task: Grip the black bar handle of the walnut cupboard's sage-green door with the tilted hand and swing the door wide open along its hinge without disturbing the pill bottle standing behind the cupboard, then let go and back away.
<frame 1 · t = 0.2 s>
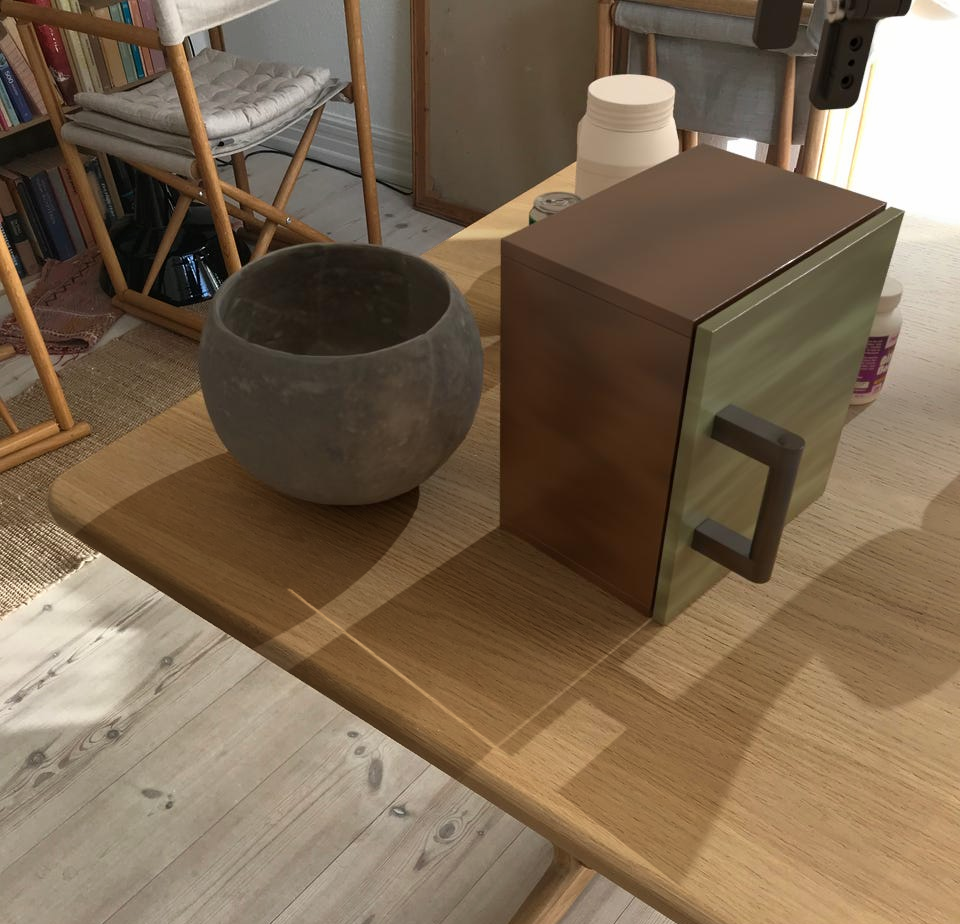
hand: (800, 75, 52), 32 cm above the table, tool pointing down, fingers open, 8 cm apart
soda can: (553, 332, 97), on the table
jar: (617, 244, 109), on the table
pill bottle: (847, 391, 89), on the table
door: (808, 441, 65), point 11 cm above the table, hinge at 0.0°
bowl: (354, 473, 82), on the table
cupboard: (657, 506, 79), on the table
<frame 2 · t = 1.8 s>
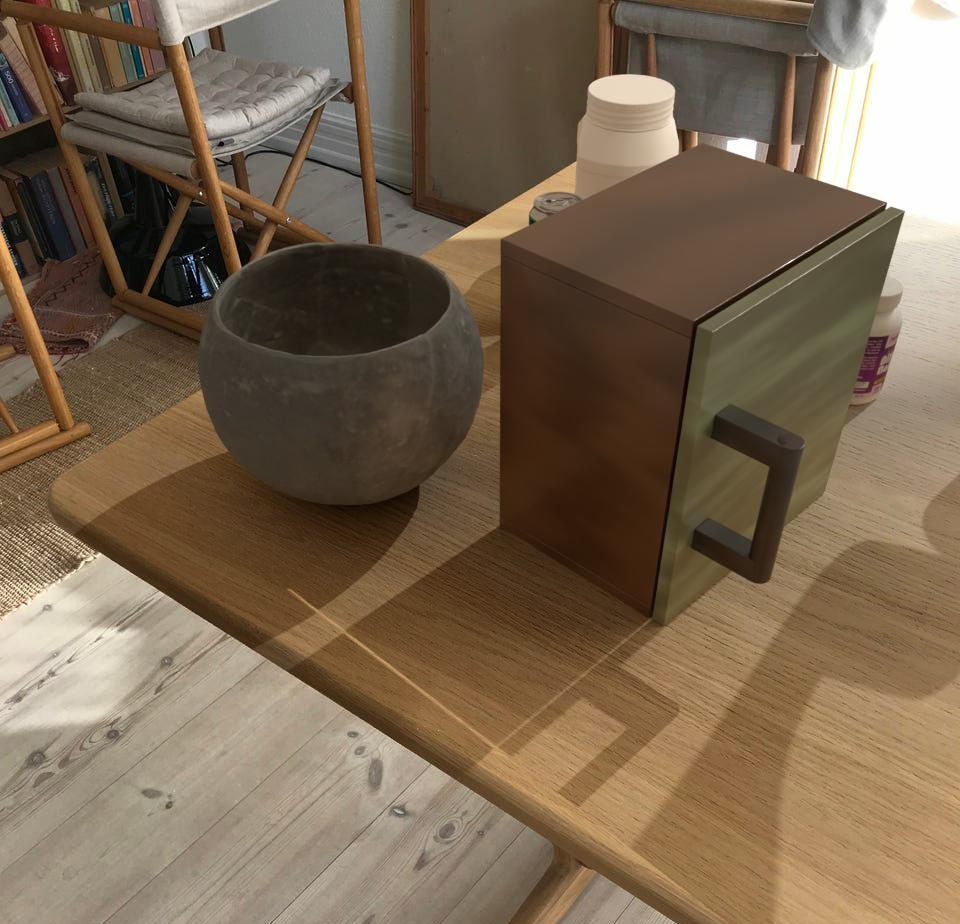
nothing on the table moved.
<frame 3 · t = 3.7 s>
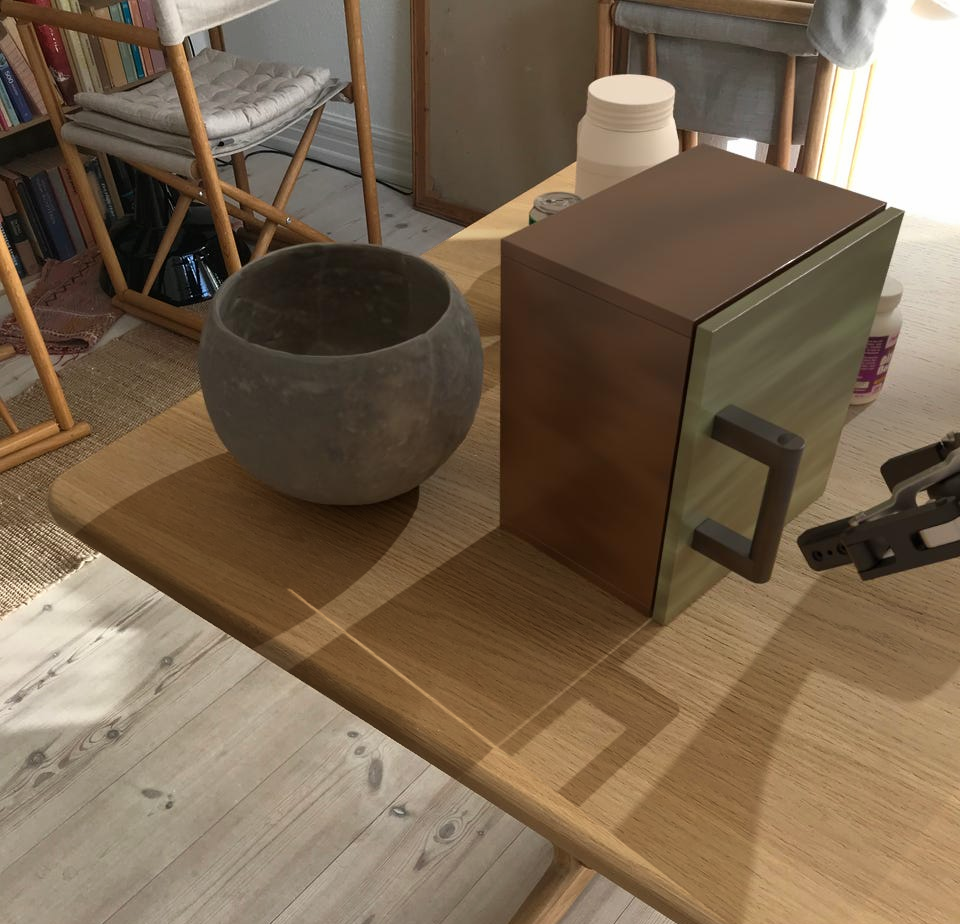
hand: (849, 515, 57), 13 cm above the table, tool tilted 45°, fingers open, 8 cm apart
nothing on the table moved.
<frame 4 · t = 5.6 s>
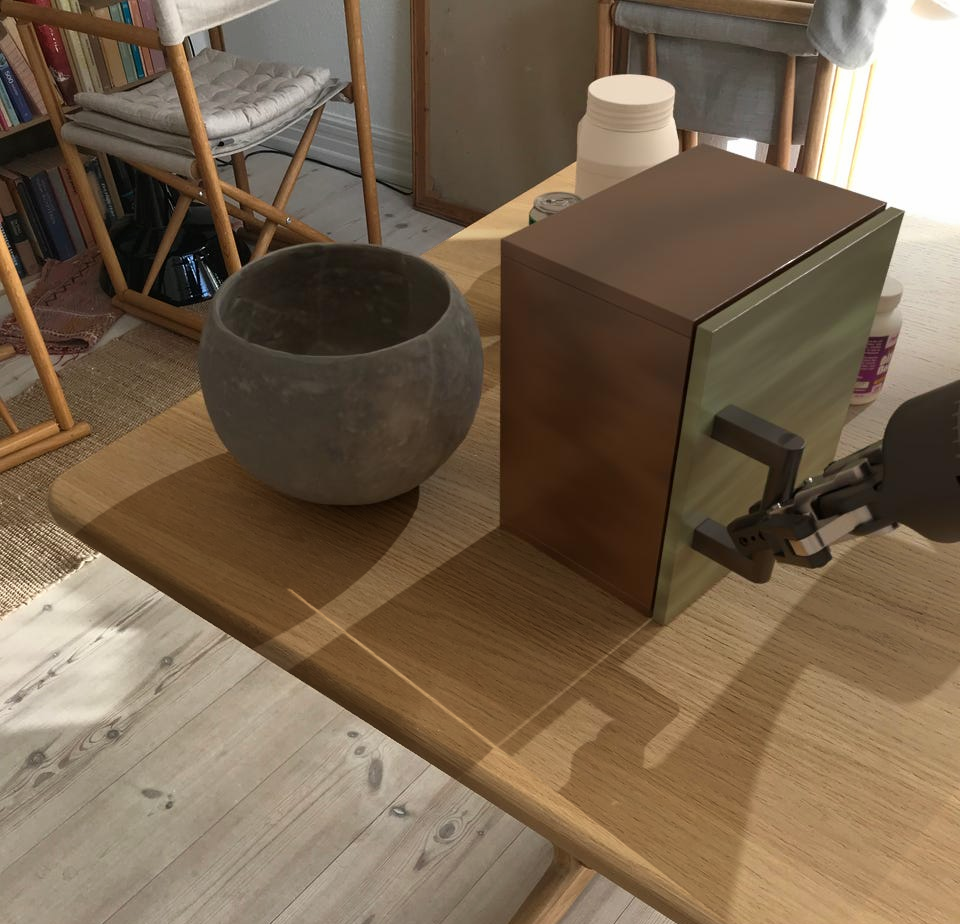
hand: (747, 529, 63), 9 cm above the table, tool tilted 45°, fingers closed on door
door: (808, 441, 65), point 11 cm above the table, hinge at 0.0°, touching gripper
everything else where it was.
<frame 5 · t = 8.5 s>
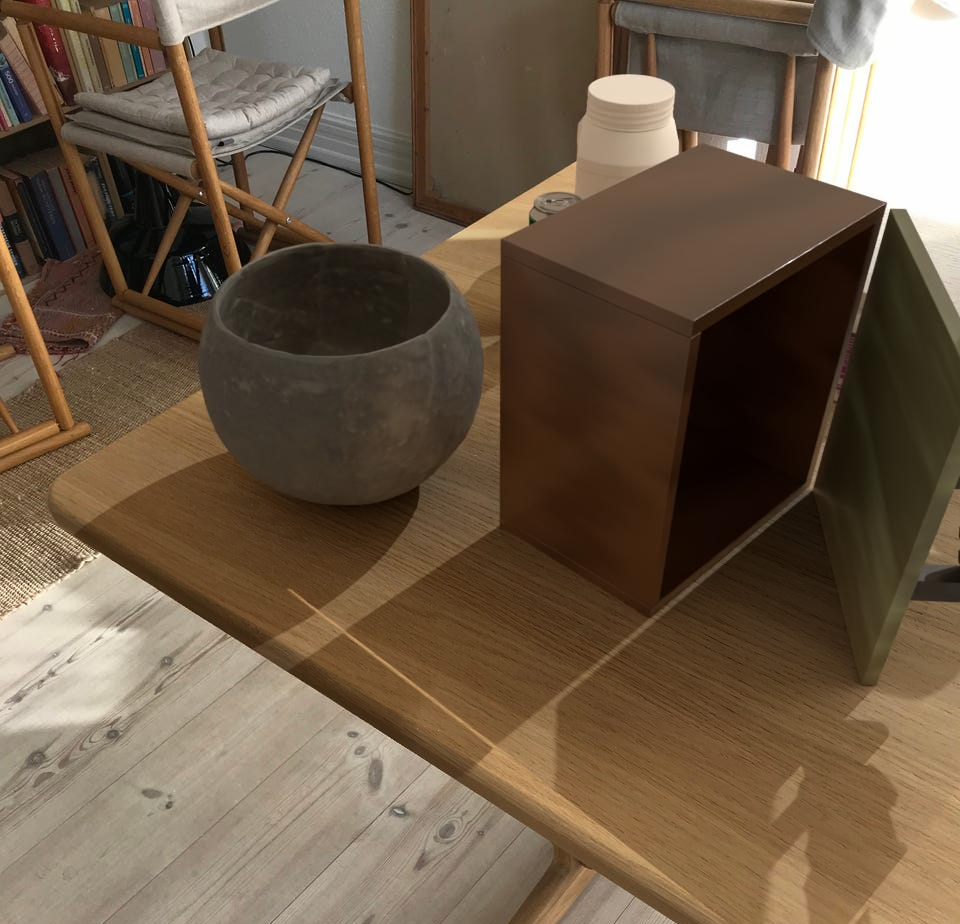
door: (926, 451, 65), point 11 cm above the table, hinge at 40.6°, touching gripper
everything else where it was.
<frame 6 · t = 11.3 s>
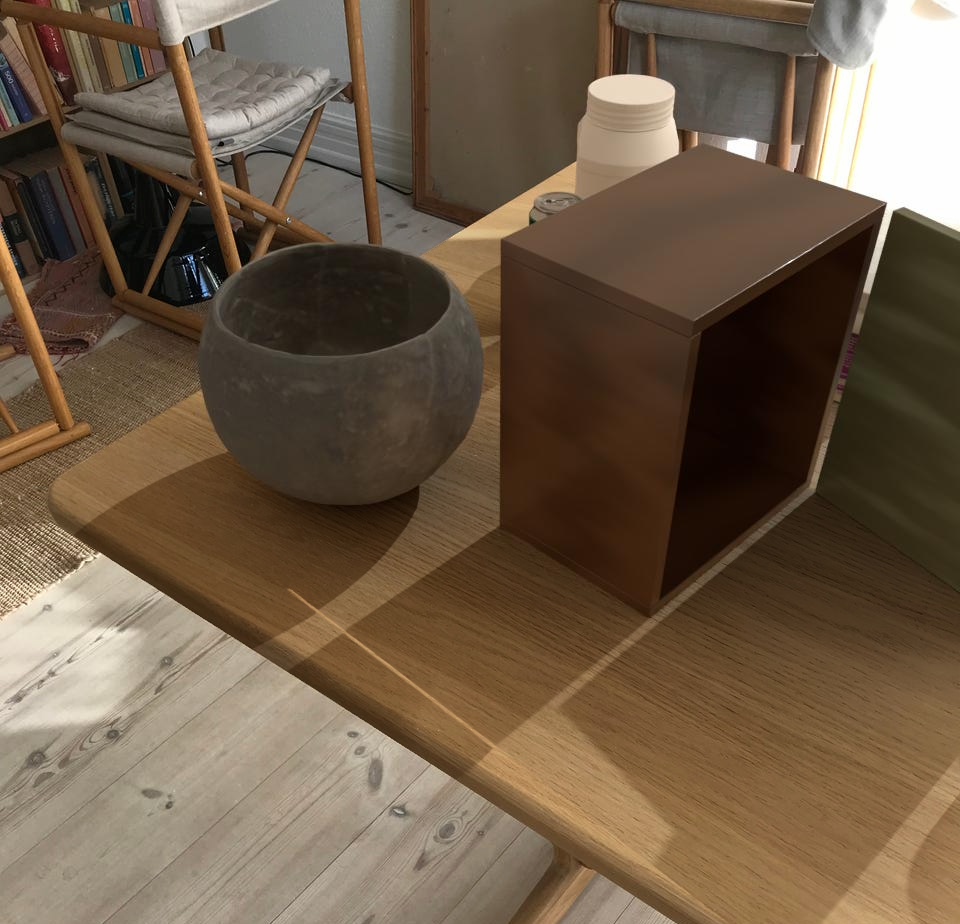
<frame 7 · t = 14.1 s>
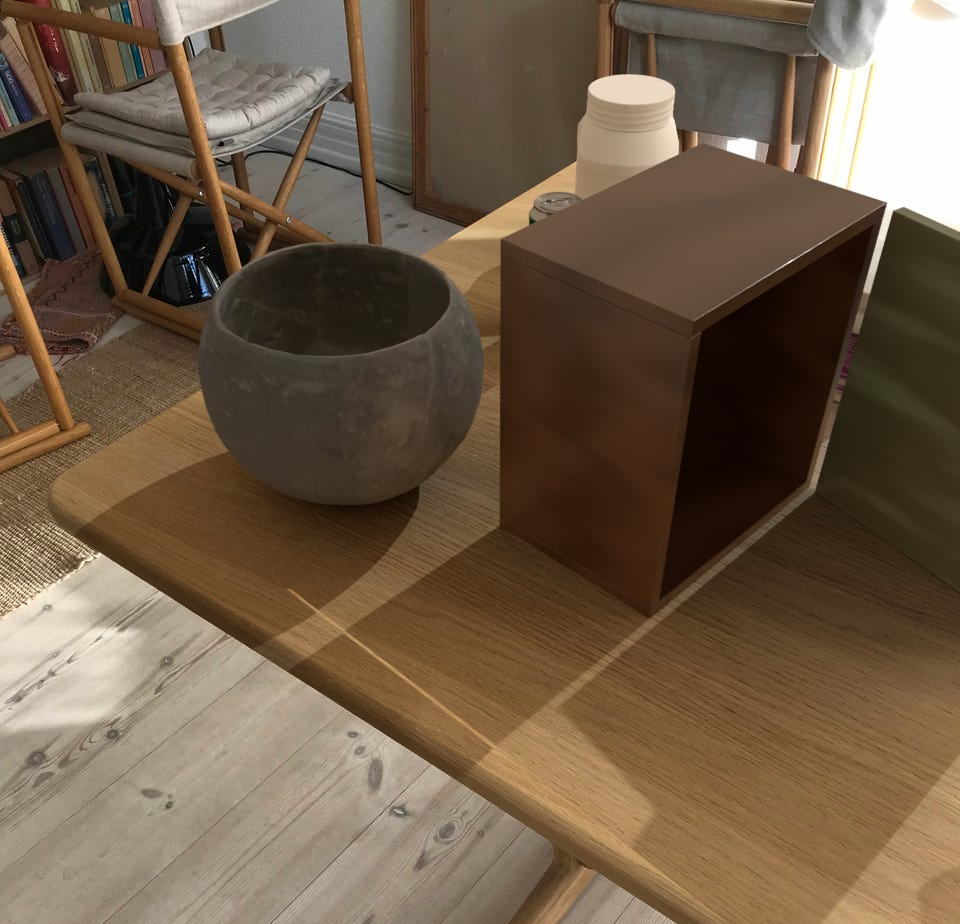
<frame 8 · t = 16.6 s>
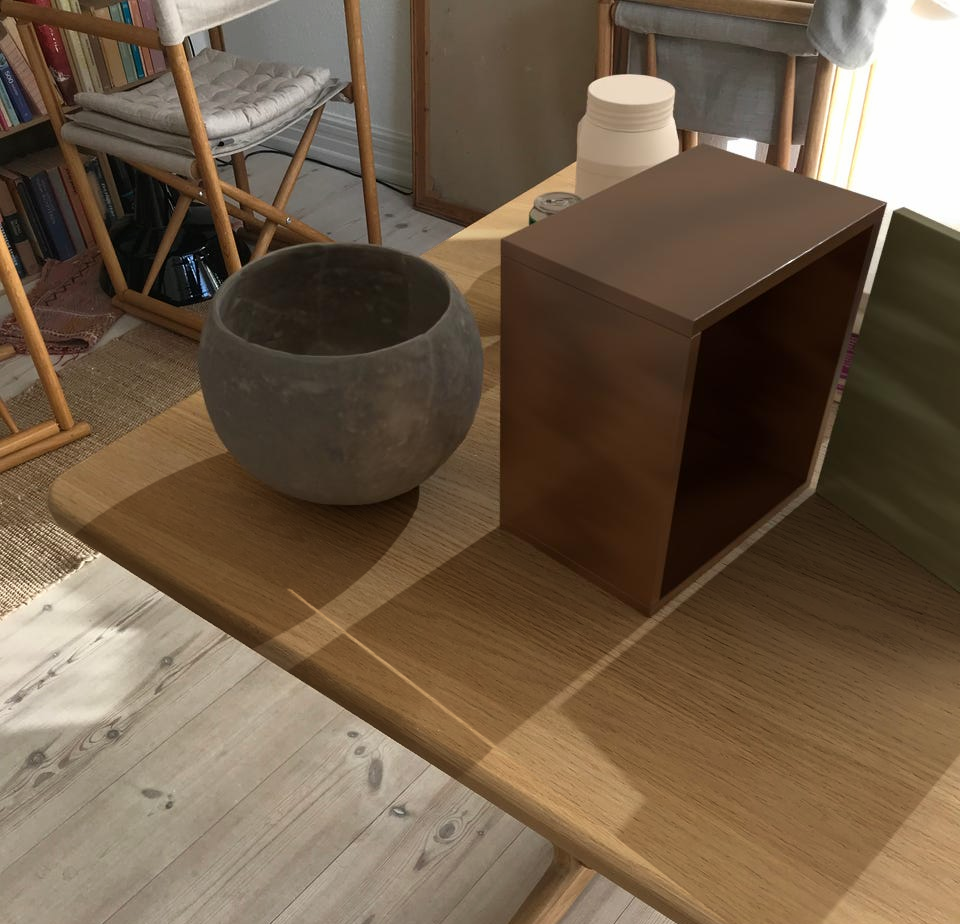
at the end: door at +78° (first picture: +0°); pill bottle moved 0.2 cm from its start; pill bottle tilted 0° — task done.
